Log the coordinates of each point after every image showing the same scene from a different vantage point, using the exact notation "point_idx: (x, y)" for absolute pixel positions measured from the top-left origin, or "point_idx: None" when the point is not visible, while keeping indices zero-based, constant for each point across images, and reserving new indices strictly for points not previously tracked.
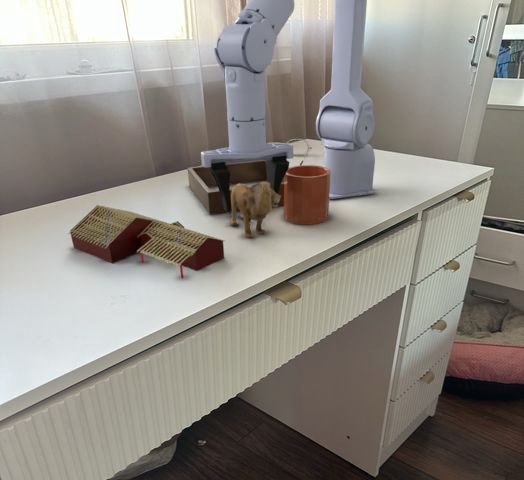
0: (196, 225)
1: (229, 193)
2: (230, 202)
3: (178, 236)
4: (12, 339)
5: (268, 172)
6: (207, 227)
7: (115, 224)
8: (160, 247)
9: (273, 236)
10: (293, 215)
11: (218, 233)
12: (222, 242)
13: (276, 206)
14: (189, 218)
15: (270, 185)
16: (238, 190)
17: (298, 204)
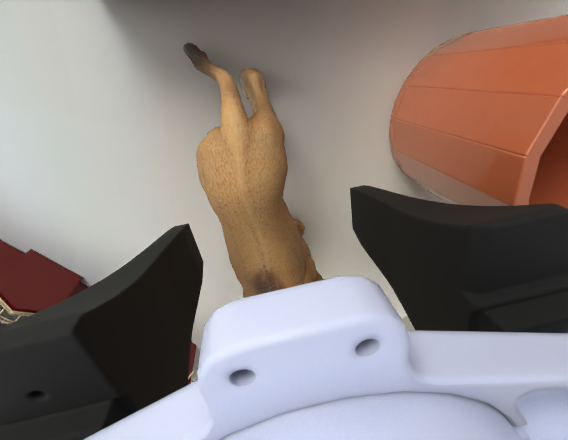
0: (70, 131)
1: (191, 326)
2: (198, 292)
3: (45, 276)
4: None
5: (418, 251)
6: (120, 159)
7: None
8: None
9: (319, 250)
10: (412, 177)
11: (167, 215)
12: (189, 379)
13: None
14: (5, 31)
15: (387, 243)
16: (233, 232)
17: (447, 201)
